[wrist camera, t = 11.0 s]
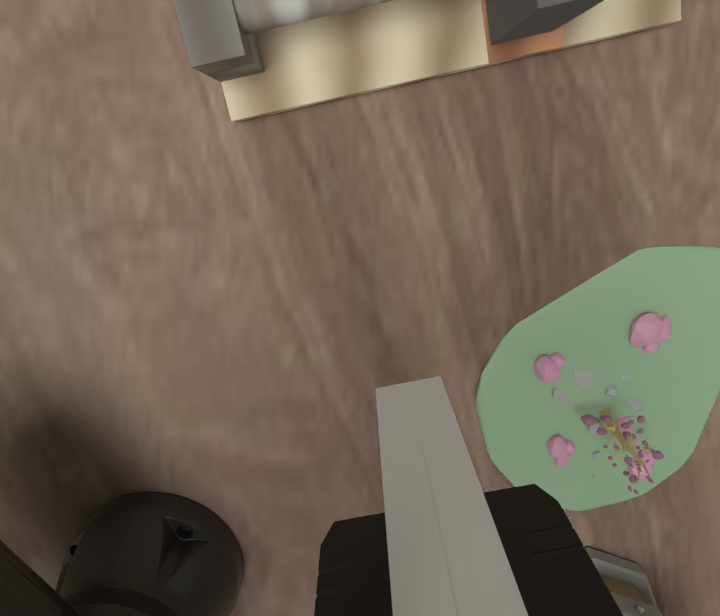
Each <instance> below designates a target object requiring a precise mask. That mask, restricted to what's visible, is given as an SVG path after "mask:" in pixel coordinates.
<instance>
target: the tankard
mask: <svg viewBox="0 0 720 616" xmlns="http://www.w3.org/2000/svg"><path fill="white" fill-rule="evenodd" d="M584 549H586V551H587V553H588V554H589V556H590V558H591V560H592V561H593V563H594V565H595V567H596V568H597V570H598V572H599V574H600V575H601V577H602V579H603V581H604V582H605V584H606V586H607V588H608V589H609V591H610V593H611V595H612V597H613V598H614V600H615V602H616V604H617V605H618V607H619V609H620V611H621V612H622V614H623V616H663V615H662V613H661V612H660V610H659V609H658V607H657V604H656V601H655V599H654V596H653V593H652V590H651V587H650V584H649V581H648V578H647V576H646V574H645V572H644V571H643V570H642V568H641V567H640V565H639V564H637V563H634V562H631V561H628V560H625V559H622V558H619V557H616V556H613V555H610V554H607V553H604V552H601V551H598V550H595V549H592V548H589V547H587V548H584Z"/></svg>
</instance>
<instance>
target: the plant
mask: <svg viewBox="0 0 720 616" xmlns="http://www.w3.org/2000/svg"><path fill="white" fill-rule="evenodd" d="M719 391H720V248H715V247H701V246H659V247H648V248H643V249H639V250H637V251H636V252H634V253H632V254H631V255H629V256H627V257H626V258H624V259H622V260H621V261H619V262H617V263H616V264H614V265H612V266H610V267H609V268H607V269H605V270H604V271H602V272H600V273H599V274H597V275H595V276H594V277H592V278H590V279H589V280H587V281H586V282H584V283H582V284H581V285H579V286H577V287H576V288H574V289H573V290H571V291H569V292H568V293H566V294H564V295H563V296H561V297H560V298H558V299H556V300H555V301H553V302H551V303H550V304H548V305H547V306H545V307H543V308H542V309H540V310H538V311H537V312H535V313H533V314H532V315H530V316H529V317H527V318H525V319H524V320H522V321H520V322H519V323H517V324H516V325H515V326H514V327H513V328H512V329H511V330H510V331H509V332H508V334H507V335H506V336H505V337H504V338H503V339H502V341H501V342H500V343H499V345H498V346H497V348H496V349H495V351H494V352H493V354H492V355H491V357H490V358H489V360H488V362H487V363H486V365H485V367H484V369H483V371H482V373H481V376H480V381H479V385H478V390H477V394H476V409H477V413H478V417H479V422H480V426H481V430H482V434H483V438H484V442H485V445H486V449H487V452H488V454H489V456H490V458H491V460H492V462H493V463H494V464H495V465H496V467H497V468H498V469H499V470H500V471H501V472H502V473H503V474H504V476H505V477H506V478H507V479H508V480H509V481H510V482H511V483H512V484H513V485H514V486H515V487H518V486H524V485H530V484H536V485H537V486H539V487H540V488H541V489H543V490H544V491H545V492H547V493H548V494H549V495H551V496H552V497H553V498H555V499H556V500H557V501H558V502H559V504H560V505H561V507H562V508H563V509H567V510H572V511H585V510H590V509H594V508H598V507H602V506H607V505H611V504H615V503H619V502H623V501H626V500H629V499H632V498H635V497H638V496H640V495H642V494H644V493H646V492H648V491H649V490H651V489H652V488H654V487H655V486H657V485H658V484H659V483H661V482H662V481H663V480H665V479H666V478H667V477H669V476H670V475H671V474H673V473H674V472H675V471H677V470H678V469H679V468H680V467H681V466H682V465H683V464H684V463H685V462H686V460H687V459H688V458H689V457H690V456H691V454H692V453H693V451H694V449H695V447H696V444H697V442H698V440H699V437H700V435H701V433H702V430H703V428H704V426H705V423H706V421H707V419H708V416H709V414H710V412H711V409H712V407H713V405H714V403H715V400H716V398H717V396H718V393H719Z"/></svg>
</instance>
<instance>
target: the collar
mask: <svg viewBox="0 0 720 616" xmlns="http://www.w3.org/2000/svg"><path fill="white" fill-rule="evenodd" d="M602 1H604V0H486V8H487V16H488V24H489V32H490V40H491V45H494V44H498V43H503V42H507V41H512V40H516V39H520V38H525V37H529V36H534V35H538V34H543V33H547V32H551V31H554V30H556V29H557V28H559V27H561V26H562V25H564V24H566V23H567V22H569V21H571V20H572V19H574V18H576V17H577V16H579V15H581V14H582V13H584V12H586V11H587V10H589V9H591V8H592V7H594V6H596V5H597V4H599V3H601V2H602Z"/></svg>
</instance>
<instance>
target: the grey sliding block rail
mask: <svg viewBox="0 0 720 616" xmlns="http://www.w3.org/2000/svg"><path fill="white" fill-rule="evenodd" d="M173 2H174V5H175V9H176V13H177V16H178V20H179V23H180V27H181V31H182V34H183V38H184V41H185V45H186V49H187V52H188V56H189V59H190V63H191V67H192V68H194V69H196V70H198V71H200V72H202V73H204V74H206V75H208V76H210V77H212V78H214V79H216V80H218V81H220V82H221V83H222V87H223V91H224V94H225V98H226V102H227V106H228V110H229V113H230V117H231V121H233V122H239V121H244V120H248V119H253V118H257V117H262V116H266V115H271V114H275V113H280V112H284V111H289V110H293V109H297V108H302V107H306V106H311V105H315V104H320V103H324V102H329V101H333V100H338V99H342V98H347V97H351V96H355V95H360V94H364V93H369V92H373V91H378V90H382V89H387V88H391V87H396V86H400V85H404V84H409V83H413V82H418V81H422V80H427V79H431V78H436V77H440V76H445V75H449V74H454V73H458V72H462V71H467V70H471V69H476V68H480V67H485V66H489V65H494V64H498V63H503V62H507V61H512V60H516V59H520V58H525V57H529V56H534V55H538V54H543V53H547V52H552V51H556V50H561V49H565V48H569V47H574V46H578V45H583V44H587V43H592V42H596V41H601V40H605V39H610V38H614V37H619V36H623V35H627V34H632V33H636V32H641V31H645V30H650V29H654V28H659V27H663V26H668V25H670V24H673V23H675V22H678V21H680V20H681V0H604V1H602V2H601V3H599V4H597V5H596V6H594V7H592V8H591V9H589V10H587V11H586V12H584V13H582V14H581V15H579V16H577V17H576V18H574V19H572V20H571V21H569V22H567V23H566V24H564V25H562V26H561V27H559V28H557V29H556V30H554V31H551V32H547V33H543V34H538V35H534V36H529V37H525V38H520V39H516V40H512V41H507V42H503V43H498V44H494V45H491V40H490V32H489V24H488V16H487V8H486V0H173Z"/></svg>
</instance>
